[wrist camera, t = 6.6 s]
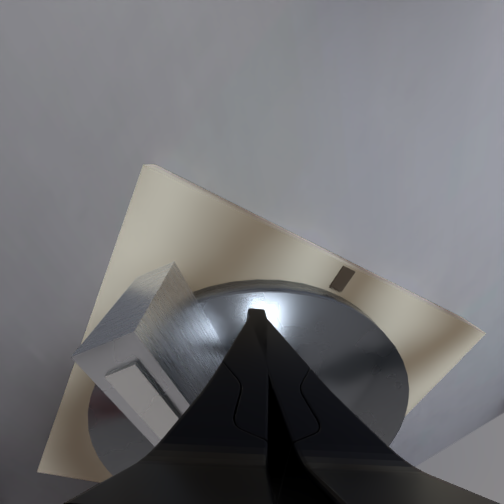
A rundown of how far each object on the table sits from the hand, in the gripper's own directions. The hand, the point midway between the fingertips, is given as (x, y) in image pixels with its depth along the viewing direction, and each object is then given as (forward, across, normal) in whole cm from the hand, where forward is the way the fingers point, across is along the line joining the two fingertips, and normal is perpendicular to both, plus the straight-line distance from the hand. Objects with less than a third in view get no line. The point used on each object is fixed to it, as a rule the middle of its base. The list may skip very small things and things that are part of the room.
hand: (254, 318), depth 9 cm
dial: (+2, -1, +8) cm, 8 cm away
